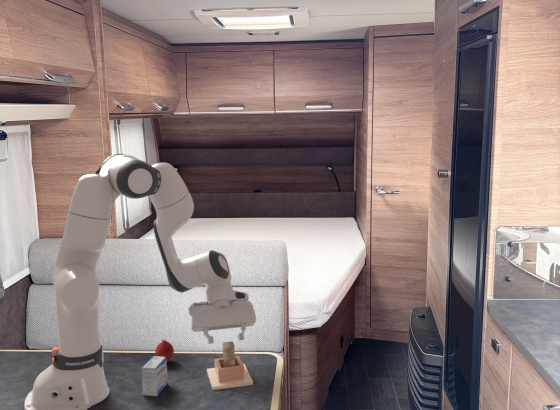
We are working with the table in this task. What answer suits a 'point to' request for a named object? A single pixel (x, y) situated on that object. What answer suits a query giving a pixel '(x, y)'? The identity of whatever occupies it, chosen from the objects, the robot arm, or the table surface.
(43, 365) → the table surface
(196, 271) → the robot arm
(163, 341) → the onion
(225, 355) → the tall tan block
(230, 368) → the stepped square socket
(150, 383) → the medicine box
